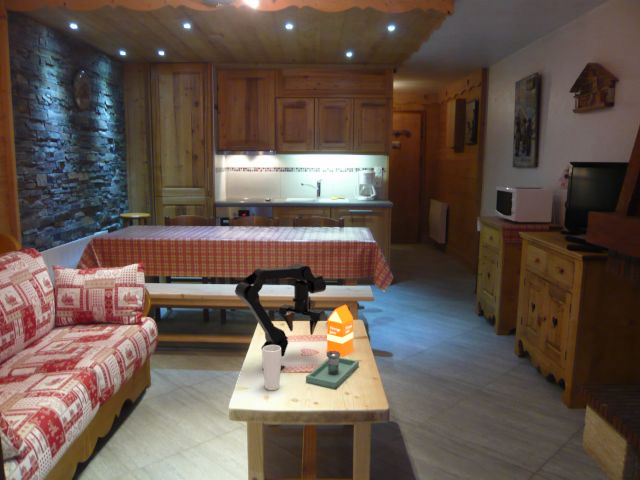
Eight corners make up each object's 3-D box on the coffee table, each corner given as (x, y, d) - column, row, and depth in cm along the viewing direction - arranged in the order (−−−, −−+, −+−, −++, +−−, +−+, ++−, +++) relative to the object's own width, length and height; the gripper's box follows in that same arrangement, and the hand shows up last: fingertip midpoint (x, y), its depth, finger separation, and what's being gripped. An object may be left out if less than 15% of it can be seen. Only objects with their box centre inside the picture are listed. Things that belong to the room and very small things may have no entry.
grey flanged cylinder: (336, 377, 192) (336, 357, 191) (324, 374, 195) (324, 354, 193) (342, 371, 197) (342, 352, 196) (330, 369, 199) (330, 349, 198)
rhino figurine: (329, 332, 242) (329, 320, 241) (325, 323, 256) (325, 311, 255) (337, 332, 243) (338, 320, 242) (333, 323, 256) (333, 311, 255)
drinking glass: (260, 385, 187) (260, 345, 184) (278, 382, 189) (278, 343, 187) (265, 393, 180) (264, 352, 178) (283, 390, 183) (283, 350, 180)
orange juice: (353, 350, 220) (353, 305, 217) (342, 357, 213) (342, 311, 209) (337, 346, 224) (338, 302, 221) (326, 353, 217) (327, 307, 214)
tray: (335, 389, 184) (335, 382, 183) (305, 382, 189) (305, 376, 188) (358, 367, 203) (358, 361, 203) (331, 361, 208) (331, 355, 208)
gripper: (331, 293, 207) (331, 330, 210) (291, 287, 215) (291, 323, 218) (319, 300, 197) (318, 339, 200) (277, 294, 205) (277, 331, 208)
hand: (301, 332), depth 207 cm, fingers open, 9 cm apart
